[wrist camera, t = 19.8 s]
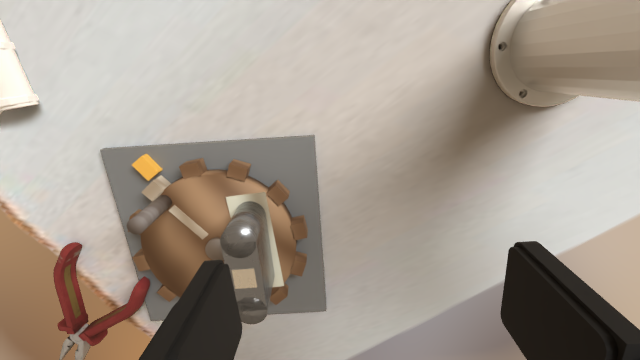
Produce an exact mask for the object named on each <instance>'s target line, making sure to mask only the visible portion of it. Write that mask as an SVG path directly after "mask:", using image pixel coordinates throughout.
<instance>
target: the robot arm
mask: <svg viewBox="0 0 640 360" xmlns="http://www.w3.org/2000/svg"><path fill="white" fill-rule="evenodd" d="M499 45H500V48H499V49H498V46H499ZM490 64H491V69H492V73H493V76H494V78H495V80H496V82H497V84H498V86H499V87H500V88H501V89H502V91H503V92H504V93H505V94H506V95H508V96H509V97H510V98H511V99H513V100H515V101H517V102H519V103H522V104H526V105H530V106H538V107H546V106H554V105H558V104H562V103H565V102H568V101H570V100H572V99H574V98H576V97H578V96H579V95H580V96H590V97H599V98H609V99H619V100H628V101H638V102H640V0H511V2H510V3H509V4H508V6H507V7H506V8H505V10H504V11H503V13H502V14H501V16H500V18H499V20H498V22H497V24H496V26H495V30H494V33H493V36H492V39H491V46H490ZM519 92H520V94H519ZM501 319H502V322H503V324H504V326H505V327H506V329H507V330H508V332H509V333H510V335H511V336H512V338H513V339H514V341H515V342H516V344H517V345H518V347H519V348H520V350H521V352H522V353H523V354H524V356H525V357H526V359H527V360H640V330H639V329H638V328H637V327H636V326H634V325H633V324H632V323H631V322H630V321H628V320H627V319H626V318H625V317H624V316H623V315H622V314H621V313H619V312H618V311H617V310H616V309H615V308H614V307H612V306H611V305H610V304H609V303H608V302H607V301H605V300H604V299H603V298H602V297H601V296H600V295H599V294H597V293H596V292H595V291H594V290H593V289H591V288H590V287H589V286H588V285H587V284H586V283H584V281H582V280H581V279H580V278H579V277H578V276H577V275H575V274H574V273H573V272H572V271H571V270H570V269H569V268H567V267H566V266H565V265H564V264H563V263H562V262H560V261H559V260H558V259H557V258H556V257H555V256H554V255H552V254H551V253H550V252H549V251H548V250H547V249H545V248H544V247H543V246H542V245H541V244H540V243H538V242H536V241H531V242H517V243H515V245H514V247H511V248H510V249H509V253H508V260H507V268H506V276H505V283H504V291H503V298H502V306H501ZM241 335H242V323H241V318H240V314H239V309H238V305H237V300H236V296H235V291H234V287H233V282H232V278H231V273H230V269H229V265H228V264H224V262H223V261H222V260H208V261H204V262H203V263H202V265H201V266H200V268H199V269H198V271H197V272H196V274H195V276H194V277H193V279H192V280H191V282H190V283H189V285H188V286H187V288H186V290H185V291H184V293H183V294H182V296H181V297H180V299H179V301H178V302H177V303H176V304H175V305H174V306H173V307H172V309H171V310H170V312H169V313H168V315H167V317H166V318H165V320H164V321H163V323H162V324H161V326H160V327H159V329H158V330H157V332H156V334H155V335H154V337H153V338H152V340H151V341H150V343H149V344H148V346H147V348H146V349H145V351H144V352H143V354H142V355H141V357H140V358H139V360H234V357H235V353H236V350H237V347H238V344H239V341H240V338H241Z"/></svg>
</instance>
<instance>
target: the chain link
mask: <svg viewBox="0 0 640 360" xmlns="http://www.w3.org/2000/svg"><path fill="white" fill-rule="evenodd" d="M220 244H221V249H222V254H223V259H224V264H228V265H229V269H230V273H231V278H232V282H233V287H234V291H235V296H236V300H237V305H238V309H239V314H240V318H241V321H242V322H244V323H247V324H256V323H259V322H261V321H263V320H264V319H265V317H266V315H267V311H268V307H269V302H270V297H271V292H272V287H273V282H274V277H275V274H274V267H273V260H272V253H271V246H270V239H269V232H268V225H267V218H266V212H265V210H264V208H263V207H262V206H261V205H260V204H258V203H256V202H253V201H247V202H243V203H242V204H240V205H239V206H238V207H237V209H236V211H235V213H234V214H233V216H232V218H231V220H230V221H229V223H228V225H227V227H226V228H225V230H224V232H223V234H222V235H221V238H220Z"/></svg>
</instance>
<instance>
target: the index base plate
mask: <svg viewBox="0 0 640 360" xmlns="http://www.w3.org/2000/svg"><path fill="white" fill-rule="evenodd" d="M100 151H101V155H102V158H103V161H104V165H105V168H106V171H107V175H108V178H109V181H110V185H111V188H112V191H113V195H114V198H115V202H116V205H117V208H118V212H119V215H120V218H121V222H122V225H123V228H124V232H125V235H126V239H127V242H128V245H129V249H130V252H131V255H132V257H133V256H134V255H135V254H136V253H137V252H138V251H139V250H140V249H141V248H142V246H141V235H139V234H133V233H131V232H128V229H127V222H128V221H129V218H130V216H131V215H132V214H133V213H135V212H136V211H137V210H139V209H141V210H143V209H144V208H145V207H146V206H148V205H149V204H150V203H151V202H152V201H151V200H150V199H149V198H147V197H146V196H145V195H144V194H143V193H141V192H142V191H143V190H144V189H145V188H146V187H147V186H148V185H149V184H150V183H151V182H152V181H153V180H155V179H156V178H157V177H159V176H160V175H162V176H163V177H164V178H165V179H166V180H168V181H169V182H170V183H171V184H172V183H173V182H175V181H176V180H178V179H179V178H181V177H183V176H182V173H181V171H180V168H179V166H180V165H182V164H183V163H185V162H186V161H190V160H195V159H199V158H203V159H204V162H205V165H206V167H207V170H214V169H220V170H228V167H229V164H230V163H231V162H232V160H233V159H236V160H239V161H243V162H246V163H250V164H251V167H250V171H249V175H248V176H250V177H252V178H254V179H256V180H258V181H260V182H262V183H263V184H265V185H266V186H268V187H270V186H271V185H272V184H273V183H274V182H275V181H277V180H279V181H280V182H281V183H282V184H283V185H284V186H285V187H286V188H287V189H288V190H289V191H290V193H289V197H288V199H287V200H285V201H284V204H285V205H286V207H287V208H288V210H289V212H290V214H291V216H292V217H297V216H302V215H304V217H305V221H306V225H307V228H308V235H307V238H304V239H299V240H297V245H296V251H297V252H301V253H305V254H307V262H306V266H305V269H304V272H303V275H302V277H301V276H297V275H293V274H290V275H289V277H288V278H287V280H286V282H285V283H286V284H287V285H288V286H289V287H288V295H287V297H286V298H285V299H283V300H282V301H281V302H280V303H278V304H277V305H275V304H274V303H272V302H271V301H270V302H269V307H268V311H267V314H284V313H302V312H320V311H326V297H325V282H324V268H323V253H322V238H321V224H320V209H319V194H318V180H317V165H316V151H315V136H314V135H307V136H291V137H276V138H260V139H244V140H228V141H212V142H196V143H180V144H164V145H148V146H132V147H116V148H104V149H101V150H100ZM132 259H133V258H132ZM133 262H134V260H133ZM134 265H135V269H136V272H137V275H138V279H139V281H140V280H141V279H142V278H143V277H144V276H145V277H147V278H148V279H149V280H150V287H149V289H148V292H147V294H146V297H145V302H146V306H147V309H148V312H149V316H150V319H151V321H157V320H165V318H166V317H167V315H168V313H169V312H170V310H171V309H172V307H173V306H174V305H175V304H176V303H177V302H178V301H179V299H180V297H178V296H176V297H175V298H174V299H173V300H171V301H170V302H169V301H167V300H166V299H165V298H163V297H162V296H161V295H159V294H158V293H157V291H158V290H159V289H160V287H161V286H162V283H161V282H160V281H159V280H158V279H157V278H156V276H155V275H154V274H153V272H152V271H151V269H149V270H144V271H139V270H138V268H137V266H136V264H135V262H134Z"/></svg>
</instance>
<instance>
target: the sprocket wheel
mask: <svg viewBox="0 0 640 360" xmlns="http://www.w3.org/2000/svg"><path fill="white" fill-rule="evenodd" d="M250 167H251V164H250V163H246V162H243V161H239V160H236V159H233V160H232V162H231V163H230V164H229V167H228V170H220V169H214V170H207V167H206V165H205V162H204V159H203V158H199V159H195V160H190V161H186V162H185V163H183V164H182V165H180V166H179V168H180V171H181V173H182V176H183V177H181V178H179V179H178V180H176V181H175V182H173V183H172V184H171V183H170V182H169V181H168V180H166V179H165V178H164V177H163V176H162V175H160V176H159V177H157V178H156V179H155V180H153V181H152V182H151V183H150V184H149V185H148V186H147V187H146V188H145V189H144V190H143V191H142V192H141V193H143V194H144V195H145V196H146V197H147V198H149V199H150V200H151V201H152V202H151V203H150V204H149V205H148V206H146V207H145V208H144V209H143V210H141V209H139V210H137V211H136V212H135V213H133V214H132V215H131V216H130V218H129V221H128V222H127V229H128V232H131V233H133V234H139V235H141V246H142V248H141V249H140V250H139V251H138V252H137V253H136V254H135V255H134V256H133V257H132V258H133V260H134V262H135V264H136V266H137V268H138V270H139V271H144V270H149V269H151V271H152V272H153V274H154V275H155V276H156V278H157V279H158V280H159V281H160V282H161V283H162V286H161V287H160V289H159V290H158V291H157V293H158V294H159V295H161V296H162V297H163V298H165V299H166V300H167V301H169V302H170V301H171V300H173V299H174V298H175V297H176V296H178V297H181V296H182V294H183V293H184V291H185V290H186V288H187V286H188V285H189V283H190V282H191V280H192V279H193V277H194V276H195V274H196V272H197V271H198V269H199V268H200V266H201V265H202V263H203V262H204V261H208V260H222V261H223V262H224V259H223V254H222V249H221V244H220V238H221V235H222V234H223V232H224V230H225V228H226V227H227V225H228V223H229V221H230V220H231V218H232V216H233V214H234V213H235V211H236V209H237V207H238V206H239V205H240V204H242V203H243V202H247V201H253V202H256V203H258V204H260V205H261V206H262V207H263V208H264V210H265V212H266V218H267V225H268V232H269V239H270V246H271V253H272V260H273V267H274V274H275V277H274V282H273V287H272V292H271V297H270V301H271V302H272V303H274V304H275V305H277V304H278V303H280V302H281V301H282V300H283V299H285V298H286V297H287V295H288V287H289V286H288V285H287V284H286V283H285V282H286V280H287V278H288V277H289V275H290V274H293V275H297V276H301V277H302V275H303V272H304V269H305V266H306V262H307V254H305V253H301V252H297V251H296V245H297V240H299V239H304V238H307V235H308V228H307V225H306V221H305V217H304V215H302V216H297V217H292V216H291V214H290V212H289V210H288V208H287V207H286V205H285V204H284V201H285V200H287V199H288V197H289V193H290V191H289V190H288V189H287V188H286V187H285V186H284V185H283V184H282V183H281V182H280V181H279V180H277V181H275V182H274V183H273V184H272V185H271V186H270V187H268V186H266V185H265V184H263V183H262V182H260V181H258V180H256V179H254V178H252V177H250V176H248V175H249V171H250Z"/></svg>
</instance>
